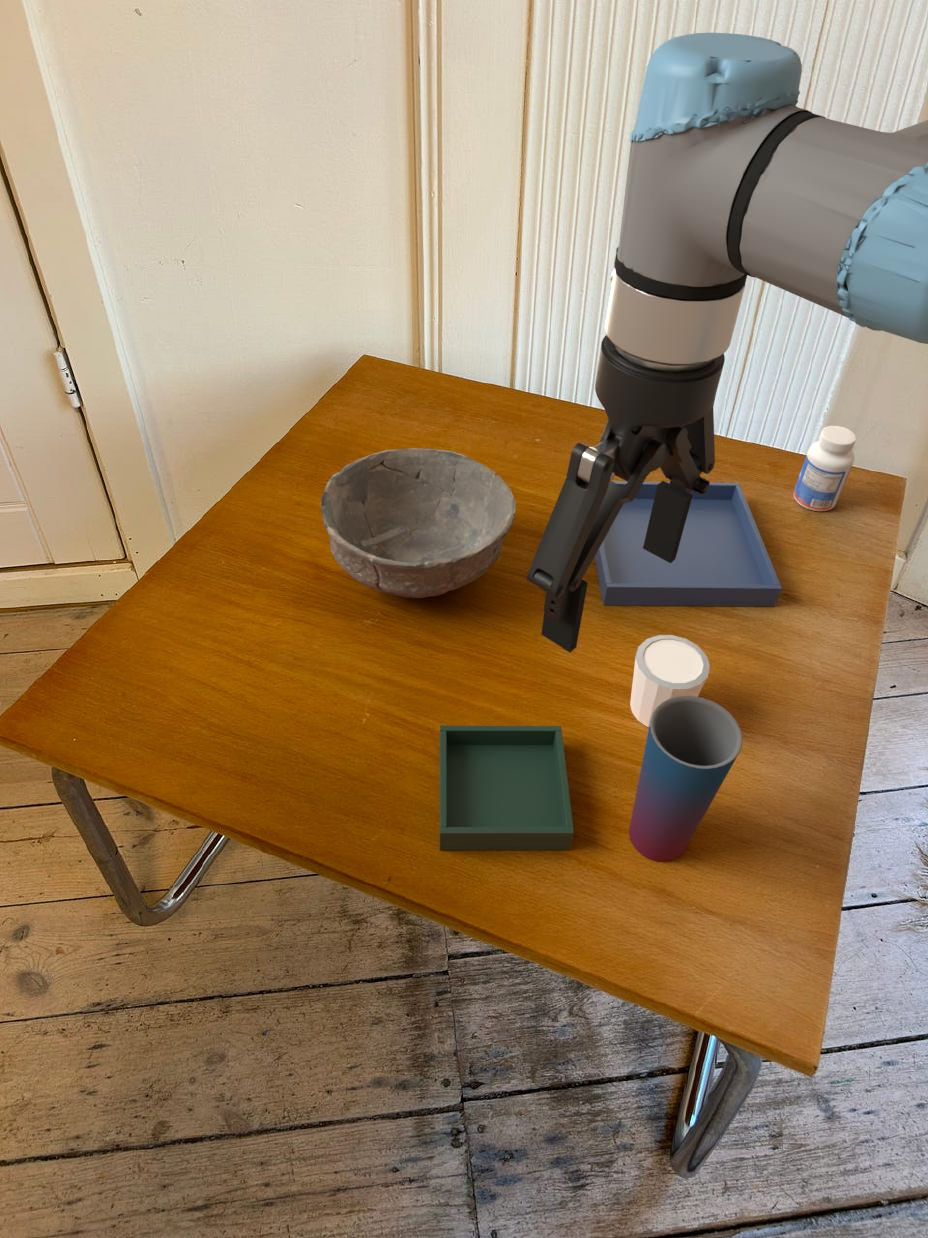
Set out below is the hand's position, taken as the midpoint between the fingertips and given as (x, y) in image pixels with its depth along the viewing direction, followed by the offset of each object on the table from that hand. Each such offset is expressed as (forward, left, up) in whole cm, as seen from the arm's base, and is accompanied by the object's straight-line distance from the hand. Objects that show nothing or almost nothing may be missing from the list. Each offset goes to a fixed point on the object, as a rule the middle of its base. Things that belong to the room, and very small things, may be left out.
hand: (611, 595), depth 67 cm
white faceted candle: (+5, -8, -20) cm, 22 cm away
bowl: (+25, +16, -20) cm, 35 cm away
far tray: (+29, -14, -20) cm, 38 cm away
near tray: (-5, +8, -20) cm, 22 cm away
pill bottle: (+39, -34, -20) cm, 55 cm away
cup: (-10, -6, -20) cm, 23 cm away
